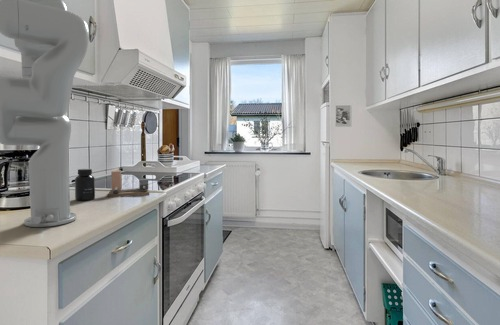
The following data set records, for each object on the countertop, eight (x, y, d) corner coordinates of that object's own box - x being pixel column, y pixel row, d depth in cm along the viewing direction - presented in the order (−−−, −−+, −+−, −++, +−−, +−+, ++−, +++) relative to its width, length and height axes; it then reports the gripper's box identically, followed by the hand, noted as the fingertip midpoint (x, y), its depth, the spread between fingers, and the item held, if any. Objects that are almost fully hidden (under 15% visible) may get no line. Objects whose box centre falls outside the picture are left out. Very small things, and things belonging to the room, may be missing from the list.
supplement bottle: (89, 201, 114) (88, 170, 113) (71, 201, 114) (70, 170, 113) (98, 198, 121) (97, 168, 120) (81, 197, 121) (81, 168, 120)
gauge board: (149, 194, 129) (149, 180, 128) (108, 197, 123) (107, 182, 122) (148, 191, 137) (147, 178, 136) (109, 193, 131) (109, 179, 130)
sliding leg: (120, 191, 124) (120, 172, 124) (111, 191, 123) (111, 172, 122) (121, 188, 130) (120, 170, 129) (112, 189, 129) (111, 170, 128)
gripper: (42, 71, 96) (44, 125, 97) (54, 80, 112) (56, 126, 113) (13, 69, 93) (16, 124, 94) (30, 78, 109) (32, 126, 110)
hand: (37, 125), depth 104 cm, fingers open, 9 cm apart
